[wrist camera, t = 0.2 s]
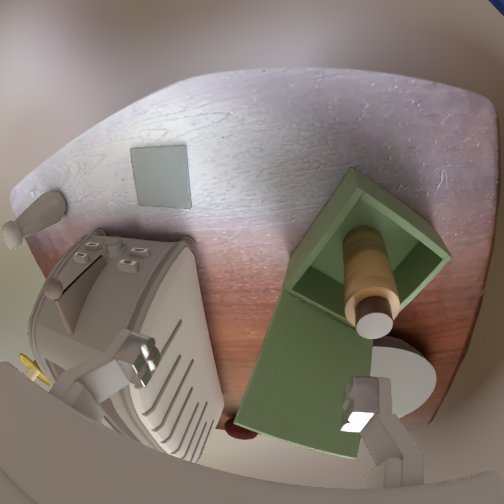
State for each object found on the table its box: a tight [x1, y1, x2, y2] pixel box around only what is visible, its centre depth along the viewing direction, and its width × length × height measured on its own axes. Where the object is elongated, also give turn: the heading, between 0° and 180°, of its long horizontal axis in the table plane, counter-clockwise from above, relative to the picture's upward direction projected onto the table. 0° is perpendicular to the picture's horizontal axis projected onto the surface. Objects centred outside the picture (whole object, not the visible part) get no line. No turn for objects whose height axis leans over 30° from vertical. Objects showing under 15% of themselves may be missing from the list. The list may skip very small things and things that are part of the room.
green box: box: [282, 167, 452, 329], centre depth 30 cm, size 14×13×7 cm
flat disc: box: [370, 336, 436, 418], centre depth 44 cm, size 28×28×4 cm
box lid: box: [233, 292, 373, 459], centre depth 27 cm, size 14×13×5 cm
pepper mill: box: [342, 226, 400, 339], centre depth 26 cm, size 5×5×13 cm
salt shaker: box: [2, 192, 67, 249], centre depth 36 cm, size 6×6×13 cm
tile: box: [130, 146, 192, 209], centre depth 34 cm, size 8×8×1 cm
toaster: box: [28, 229, 224, 463], centre depth 40 cm, size 21×45×22 cm, turn 2°
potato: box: [225, 418, 258, 440], centre depth 62 cm, size 8×9×6 cm
